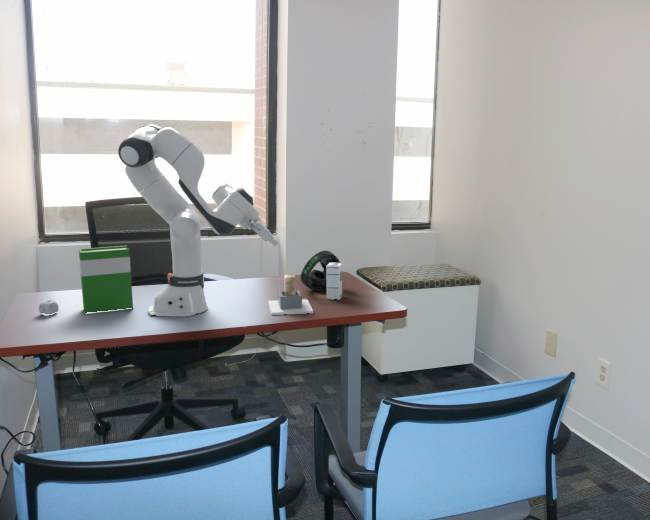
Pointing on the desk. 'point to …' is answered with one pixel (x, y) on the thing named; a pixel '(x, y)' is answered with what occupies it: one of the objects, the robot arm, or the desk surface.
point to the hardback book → (106, 278)
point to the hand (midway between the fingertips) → (274, 242)
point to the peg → (289, 285)
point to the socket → (289, 304)
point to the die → (48, 307)
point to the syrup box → (334, 280)
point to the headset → (317, 277)
